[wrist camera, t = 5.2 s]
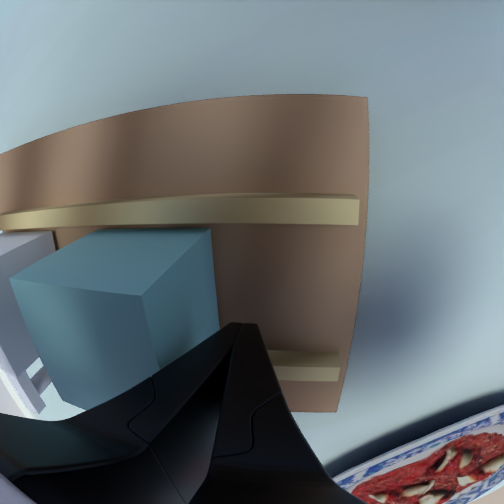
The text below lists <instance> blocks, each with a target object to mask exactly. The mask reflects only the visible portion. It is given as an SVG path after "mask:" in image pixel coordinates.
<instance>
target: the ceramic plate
mask: <svg viewBox="0 0 504 504" xmlns="http://www.w3.org/2000/svg"><path fill="white" fill-rule="evenodd" d="M332 479H333V480H334V481H335V482H336V483H337V484H338V485H339V486H340V487H342V488H343V489H345V490H346V491H348V492H349V493H351V494H353V495H354V496H356V497H358V498H359V499H361V500H363V501H364V502H366V503H368V504H467V503H468V502H470V501H472V500H474V499H475V498H477V497H479V496H480V495H482V494H484V493H485V492H487V491H488V490H490V489H491V488H493V487H494V486H496V485H497V484H498V483H500V482H501V481H502V480H503V479H504V404H503V405H501V406H498V407H495V408H493V409H490V410H487V411H485V412H482V413H479V414H476V415H474V416H471V417H469V418H467V419H464V420H462V421H459V422H457V423H455V424H452V425H450V426H447V427H445V428H442V429H439V430H437V431H435V432H433V433H431V434H428V435H426V436H424V437H421V438H419V439H417V440H414V441H412V442H409V443H407V444H404V445H402V446H400V447H397V448H395V449H393V450H391V451H389V452H386V453H384V454H382V455H379V456H377V457H375V458H373V459H371V460H369V461H366V462H364V463H362V464H360V465H358V466H355V467H353V468H351V469H349V470H347V471H345V472H343V473H341V474H339V475H337V476H335V477H333V478H332Z"/></svg>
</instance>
